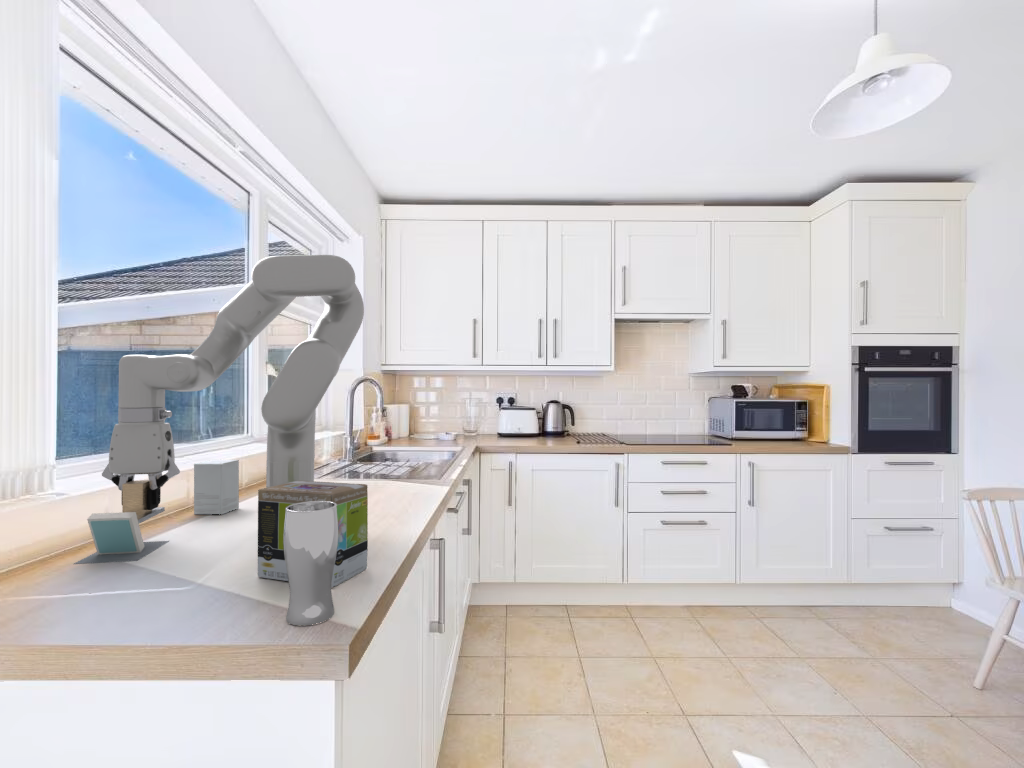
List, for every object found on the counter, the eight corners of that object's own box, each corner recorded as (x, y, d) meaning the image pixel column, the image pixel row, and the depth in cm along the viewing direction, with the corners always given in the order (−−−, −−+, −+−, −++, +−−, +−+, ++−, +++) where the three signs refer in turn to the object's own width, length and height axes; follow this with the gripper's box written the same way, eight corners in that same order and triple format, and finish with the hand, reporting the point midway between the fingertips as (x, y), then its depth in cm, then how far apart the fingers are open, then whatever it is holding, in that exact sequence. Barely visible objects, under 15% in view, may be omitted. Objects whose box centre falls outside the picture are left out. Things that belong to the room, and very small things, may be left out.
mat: (169, 542, 102) (169, 540, 102) (137, 562, 90) (137, 560, 90) (113, 544, 100) (113, 543, 100) (73, 565, 88) (73, 563, 88)
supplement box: (239, 508, 131) (240, 459, 131) (220, 515, 124) (221, 463, 124) (213, 507, 132) (213, 459, 132) (192, 514, 124) (193, 463, 125)
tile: (102, 548, 95) (92, 513, 92) (144, 546, 96) (135, 511, 93) (97, 555, 93) (86, 519, 90) (139, 553, 94) (130, 518, 91)
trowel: (137, 524, 94) (137, 487, 94) (101, 525, 93) (101, 488, 93) (164, 510, 104) (164, 477, 104) (132, 512, 103) (132, 478, 103)
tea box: (369, 569, 87) (370, 483, 88) (330, 590, 78) (331, 494, 78) (299, 559, 92) (299, 477, 92) (254, 578, 83) (255, 487, 83)
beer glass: (284, 632, 64) (285, 514, 64) (281, 611, 70) (282, 503, 71) (341, 621, 67) (342, 508, 68) (333, 601, 74) (334, 498, 74)
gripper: (195, 415, 106) (194, 503, 106) (107, 416, 103) (106, 506, 103) (178, 417, 99) (177, 511, 99) (82, 418, 96) (81, 515, 96)
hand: (141, 507), depth 101 cm, fingers closed on trowel, 3 cm apart
